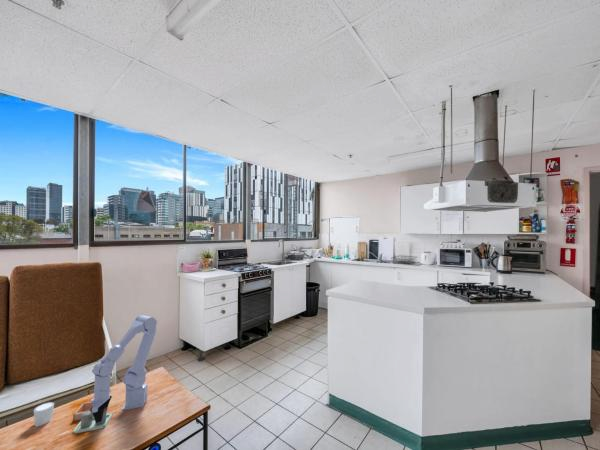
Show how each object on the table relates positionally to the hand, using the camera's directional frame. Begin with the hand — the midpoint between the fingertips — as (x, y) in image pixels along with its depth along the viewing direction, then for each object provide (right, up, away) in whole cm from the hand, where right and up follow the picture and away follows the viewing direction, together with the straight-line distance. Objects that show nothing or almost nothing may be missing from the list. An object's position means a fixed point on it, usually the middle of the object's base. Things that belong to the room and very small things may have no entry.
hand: (100, 418), depth 117 cm
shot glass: (-27, -2, 0) cm, 27 cm away
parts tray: (-3, -2, -1) cm, 4 cm away
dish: (-10, -3, +7) cm, 12 cm away
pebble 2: (0, -1, 0) cm, 1 cm away
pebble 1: (-5, -2, -2) cm, 6 cm away
